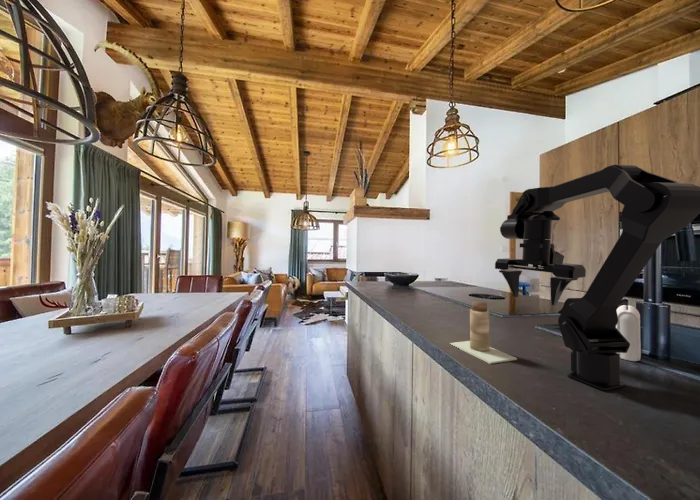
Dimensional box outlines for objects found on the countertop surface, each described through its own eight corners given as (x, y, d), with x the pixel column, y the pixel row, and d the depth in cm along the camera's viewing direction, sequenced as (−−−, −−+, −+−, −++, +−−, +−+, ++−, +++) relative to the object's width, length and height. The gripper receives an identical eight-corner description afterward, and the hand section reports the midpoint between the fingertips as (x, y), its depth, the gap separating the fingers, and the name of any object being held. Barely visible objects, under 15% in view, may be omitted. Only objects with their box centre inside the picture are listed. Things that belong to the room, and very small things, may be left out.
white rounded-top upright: (616, 348, 72) (615, 301, 72) (640, 352, 68) (639, 304, 69) (615, 358, 64) (614, 307, 65) (641, 363, 61) (640, 309, 62)
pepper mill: (492, 349, 70) (492, 302, 70) (484, 353, 67) (484, 304, 67) (475, 344, 73) (474, 300, 74) (466, 348, 70) (466, 302, 71)
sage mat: (517, 359, 64) (516, 358, 64) (490, 363, 61) (490, 362, 61) (473, 341, 77) (473, 340, 77) (450, 344, 75) (450, 343, 75)
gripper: (600, 240, 62) (596, 306, 63) (520, 239, 79) (517, 291, 80) (573, 240, 57) (569, 311, 58) (494, 239, 74) (492, 294, 75)
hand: (533, 300), depth 68 cm, fingers open, 9 cm apart
